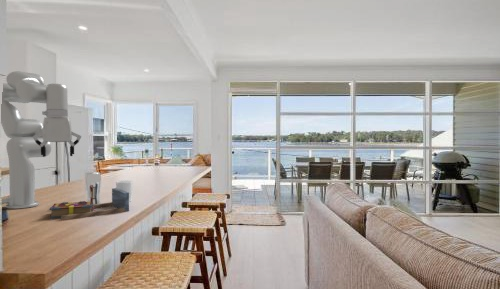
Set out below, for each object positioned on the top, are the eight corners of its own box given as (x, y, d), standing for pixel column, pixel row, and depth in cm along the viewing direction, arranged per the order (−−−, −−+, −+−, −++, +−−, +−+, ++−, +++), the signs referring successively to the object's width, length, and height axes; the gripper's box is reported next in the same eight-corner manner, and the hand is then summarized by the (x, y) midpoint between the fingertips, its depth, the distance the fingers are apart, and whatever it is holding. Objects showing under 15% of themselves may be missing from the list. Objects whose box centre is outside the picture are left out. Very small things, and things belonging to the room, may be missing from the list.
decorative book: (54, 213, 141) (53, 202, 141) (96, 210, 147) (96, 199, 147) (49, 220, 130) (49, 207, 130) (95, 216, 136) (94, 204, 136)
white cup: (135, 200, 169) (135, 180, 169) (128, 203, 162) (128, 182, 161) (120, 199, 170) (120, 180, 170) (112, 202, 162) (112, 182, 162)
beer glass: (104, 203, 160) (104, 172, 159) (92, 206, 154) (92, 174, 153) (94, 202, 163) (94, 171, 162) (81, 205, 156) (81, 173, 156)
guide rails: (62, 220, 128) (62, 199, 128) (53, 212, 140) (53, 193, 140) (128, 210, 145) (128, 192, 145) (115, 205, 157) (115, 188, 157)
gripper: (30, 113, 130) (31, 157, 130) (80, 114, 137) (81, 156, 137) (33, 114, 136) (34, 156, 137) (81, 115, 144) (82, 155, 144)
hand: (58, 156), depth 137 cm, fingers open, 9 cm apart
